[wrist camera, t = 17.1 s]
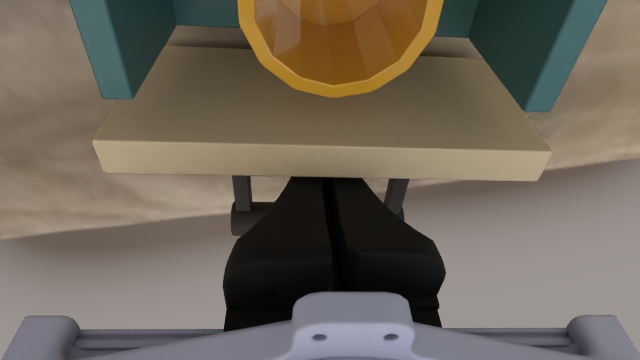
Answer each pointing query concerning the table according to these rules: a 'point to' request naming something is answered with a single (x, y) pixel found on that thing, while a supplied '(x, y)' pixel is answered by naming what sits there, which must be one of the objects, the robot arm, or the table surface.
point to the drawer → (329, 100)
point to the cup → (338, 40)
